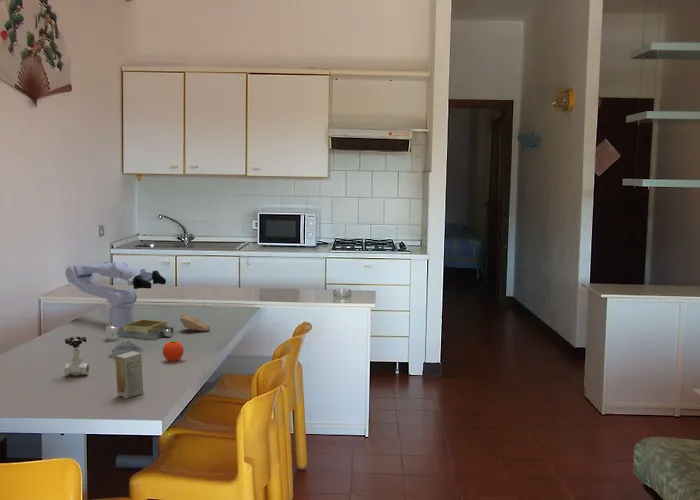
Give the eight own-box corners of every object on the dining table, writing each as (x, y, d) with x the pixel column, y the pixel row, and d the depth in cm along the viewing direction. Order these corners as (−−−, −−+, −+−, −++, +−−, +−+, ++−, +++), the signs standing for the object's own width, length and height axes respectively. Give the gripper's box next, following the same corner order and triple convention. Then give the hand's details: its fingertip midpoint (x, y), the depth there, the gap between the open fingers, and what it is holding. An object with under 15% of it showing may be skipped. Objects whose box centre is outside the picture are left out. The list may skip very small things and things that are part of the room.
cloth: (128, 363, 234) (128, 356, 234) (89, 362, 235) (89, 355, 235) (156, 344, 260) (156, 338, 259) (121, 343, 261) (121, 337, 260)
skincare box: (134, 390, 203) (133, 350, 201) (144, 393, 200) (142, 352, 199) (116, 396, 197) (114, 355, 196) (125, 399, 195) (124, 357, 194)
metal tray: (116, 335, 269) (116, 324, 269) (136, 329, 280) (136, 318, 280) (161, 340, 262) (160, 329, 261) (179, 333, 273) (179, 322, 272)
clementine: (167, 357, 239) (166, 337, 238) (186, 357, 239) (186, 337, 238) (160, 363, 231) (159, 343, 230) (180, 364, 231) (180, 343, 230)
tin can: (103, 341, 261) (102, 324, 261) (111, 338, 266) (111, 322, 265) (113, 342, 260) (112, 325, 259) (121, 339, 264) (120, 323, 263)
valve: (69, 372, 220) (68, 336, 219) (90, 372, 221) (89, 336, 219) (63, 379, 214) (61, 341, 212) (84, 378, 214) (83, 341, 213)
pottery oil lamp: (206, 334, 273) (206, 316, 272) (177, 333, 273) (176, 316, 272) (212, 329, 281) (211, 312, 281) (183, 328, 282) (183, 312, 281)
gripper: (120, 269, 271) (144, 277, 264) (147, 263, 283) (171, 270, 277) (119, 286, 273) (143, 295, 266) (147, 279, 285) (171, 287, 278)
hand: (158, 283), depth 271 cm, fingers open, 7 cm apart
